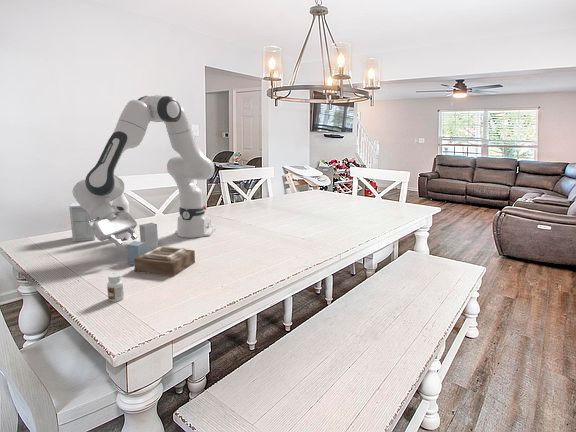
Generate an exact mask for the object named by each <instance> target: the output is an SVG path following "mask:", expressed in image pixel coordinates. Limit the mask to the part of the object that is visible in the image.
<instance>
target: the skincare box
mask: <svg viewBox="0 0 576 432" xmlns="http://www.w3.org/2000/svg"><path fill="white" fill-rule="evenodd" d="M138 227H139V236H140V237H139V238H140V239H139V240H140V242H146V253H147V252H149V251H151V250H153V249H155V248H157V247H159V237H158V235H159V234H158V224H157V223H154V222H149V223H144V224H139V225H138Z"/></svg>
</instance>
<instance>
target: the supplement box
mask: <svg viewBox="0 0 576 432" xmlns="http://www.w3.org/2000/svg"><path fill="white" fill-rule="evenodd" d="M68 207H69V217H70V226H71V235H72V242H74V243H75V242H83V241H84V242H85V241H86V242H87V241H96V239H97V238H96V236H95V235H94V233H93V232H92V230H91V228H90V227H89V225H88V222H89V220H91V219H92V218H91V217H90V216H89V214H88V212H87V211H86V210H84V209H83V208H82V207H81V206H80V204H79V203H78V202H72V203H71V204H70V205H69V206H68Z"/></svg>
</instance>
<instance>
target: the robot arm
mask: <svg viewBox="0 0 576 432" xmlns="http://www.w3.org/2000/svg"><path fill="white" fill-rule="evenodd" d="M150 122H154V123H164V124H165V128H166V132H167V136H168V139H169V141H170V144H171V145H170V146H171V148H172V150H173V151H175V152H176V153H178V154H179V156H174V157H170V159H168V161H167V164H166V170H167V173H168V174H169V175H170V176H171V178H172V179H173V180H174V181H175V184H176V186H177V188H178V193H179V209H178V212H179V216H178V218H177V227H176V228H177V230H175V232H174V234H176V235H177V236H178V237H182V238H188V239H189V238H190V239H191V238H202V237H210V236H212V234H213V233H214V232H215V231H216V230H217V228H216V226H213V225H212V219H211V218H210V217H209V216H208V215H207V214H206V210H207V208H208V207H207V206H206V205H204V200H203V199H204V198H203V197H204V195H203V194H204V193H203V189H201V188H200V187H199V186H198V185H197V184H196V181H207V180H210V179H211V178H212V177H214V174H215V164H214V162H213V161H212V160H211V159H210V158H208V157H207V156H206V155H205V154H204V153H203V151H202V150H201V149H200V147H199V145H198V144H197V142H196V139H195V135H194V131H193V129H192V128H193V127H192V124H191V122H190V118H189V116H188V115H187V112H186V110H185V108H184V107H183V106H181V105H180V102H178V100H177V99H175V97H172V96H170V95H161V94H160V95H158V94H155V95H143V96H141V97H140V98H138V99H131V100H129V101H128V102H127V103H126V105H125V106H124V108H123V110H122V111H121V114H120V115H119V118H118V120H117V123H116V125H115V128H114V129H113V132H112V134H111V135H110V137H109V138H108V140H107V142H106V144H105V146H104V148H103V150H102V152H101V155H100V157H99V158H98V161H97V162H96V164H94V166H93V167H92V169H90V170H89V172H88V173H87V174H86V176H85V179H82V180H80V181H78V182H77V183H76V184H74V187H73V188H72V196H73V198H74V199H75V200H76V203H79V204H80V206H81V207H82V208H83V209H84V210H86V211H87V212H88V214H89V216H90V217H91V218H92V219H91V220H89V222H88V225H89V227H90V228H91V230H92V232H93V233H94V235H95V236H96V238H95V239H97V240H98V241H100V242H104V241H106V240H108V241H109V242H111V243H113V244H114V245H115V246H117V247H120V246H122V244H123V241H122V240H119V239H116V237H115V236H117V235H120V234H123V233H126V232H128V233H130V238H131V239H132V241H136V239H138V235H137V233H136V231H135V228H136V227H137V226H138V223H137V221H136V220H135V218H133V216H132V215H131V214H130V212H129V213H127V212H125V208H124V207H121V206H114V205H112V203H110V202H113V200H114V199H116V198H117V197H119V196H120V195H121V194H122V193H124V192H123V191H124V190H125V183H124V181H123V179H121V178H120V177H118V176H117V175H115V169H116V168H117V165H118V163H119V161H120V159H121V156H123V153H125V151H127V150H129V149H134V148H137V147H138V146H139V145H140V144H141V143H142V141H143V139H145V138H144V137H145V134H146V132H147V129H148V126H149V123H150Z"/></svg>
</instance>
